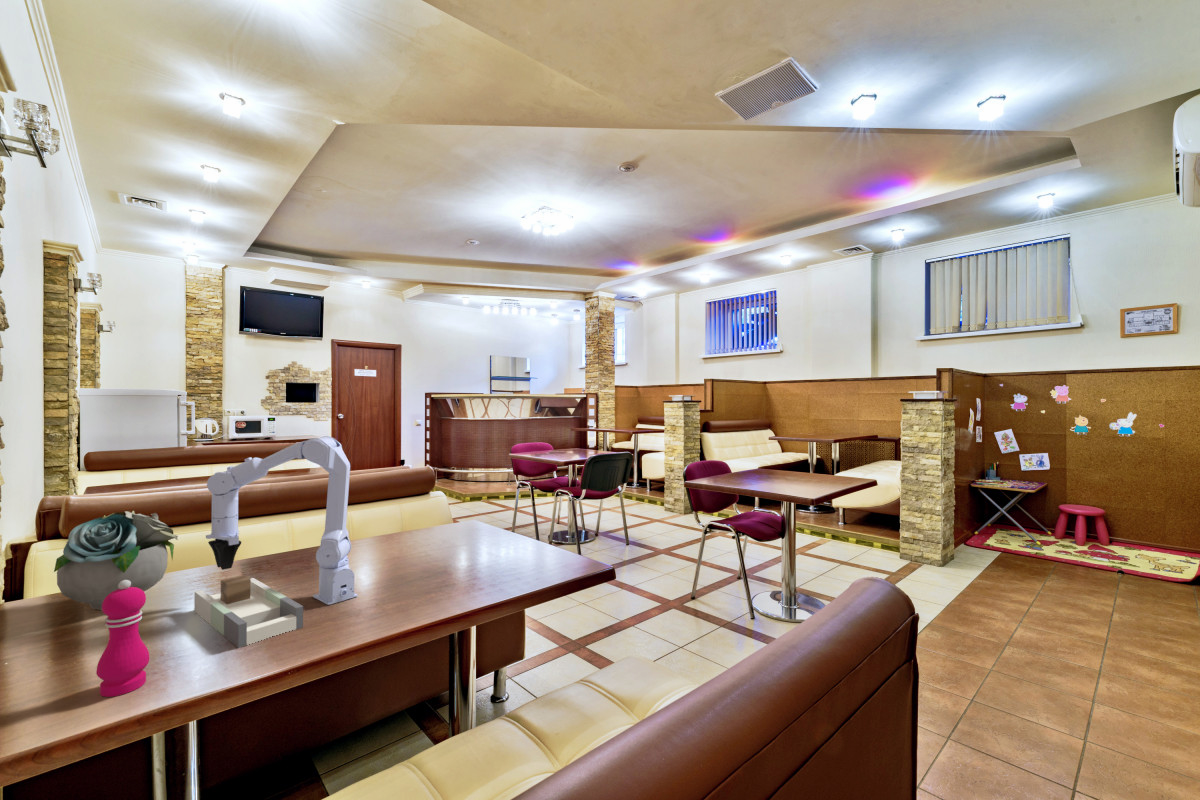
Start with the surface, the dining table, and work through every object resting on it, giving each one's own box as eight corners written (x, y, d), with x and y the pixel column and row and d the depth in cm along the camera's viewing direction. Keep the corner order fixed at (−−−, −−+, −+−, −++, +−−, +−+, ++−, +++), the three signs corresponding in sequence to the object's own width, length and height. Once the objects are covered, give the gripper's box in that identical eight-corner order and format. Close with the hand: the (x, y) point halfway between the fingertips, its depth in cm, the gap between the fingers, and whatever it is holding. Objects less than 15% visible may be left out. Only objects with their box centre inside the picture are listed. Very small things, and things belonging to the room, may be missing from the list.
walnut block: (250, 598, 129) (250, 578, 129) (227, 604, 125) (227, 584, 125) (243, 593, 132) (243, 574, 132) (220, 599, 128) (220, 580, 129)
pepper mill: (145, 673, 99) (146, 571, 99) (153, 686, 94) (154, 579, 95) (93, 689, 93) (94, 580, 94) (98, 703, 89) (100, 590, 89)
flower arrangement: (199, 592, 142) (200, 505, 142) (88, 630, 118) (89, 525, 118) (136, 583, 148) (137, 500, 149) (19, 618, 124) (20, 519, 125)
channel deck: (303, 627, 119) (303, 606, 119) (238, 648, 109) (238, 624, 109) (253, 595, 139) (253, 577, 139) (194, 611, 129) (194, 591, 129)
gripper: (198, 515, 136) (197, 565, 135) (215, 523, 127) (215, 577, 127) (229, 510, 141) (228, 559, 141) (248, 518, 132) (247, 569, 132)
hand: (224, 567), depth 134 cm, fingers open, 3 cm apart
